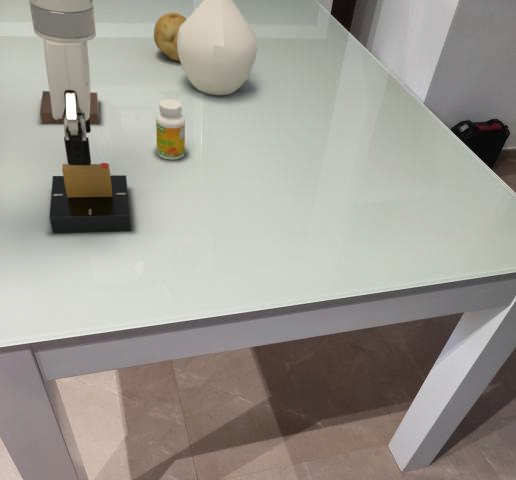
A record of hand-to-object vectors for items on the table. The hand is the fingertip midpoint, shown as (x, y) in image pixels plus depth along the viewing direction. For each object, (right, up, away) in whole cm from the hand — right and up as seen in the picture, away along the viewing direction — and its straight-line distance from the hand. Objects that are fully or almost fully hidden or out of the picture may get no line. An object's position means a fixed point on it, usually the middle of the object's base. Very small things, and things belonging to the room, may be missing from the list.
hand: (79, 147), depth 77 cm
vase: (+17, +33, +47) cm, 60 cm away
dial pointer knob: (0, -5, +6) cm, 8 cm away
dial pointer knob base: (-1, -7, +8) cm, 11 cm away
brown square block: (-12, +19, +30) cm, 38 cm away
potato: (+5, +45, +57) cm, 73 cm away
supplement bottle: (+10, +8, +24) cm, 27 cm away
